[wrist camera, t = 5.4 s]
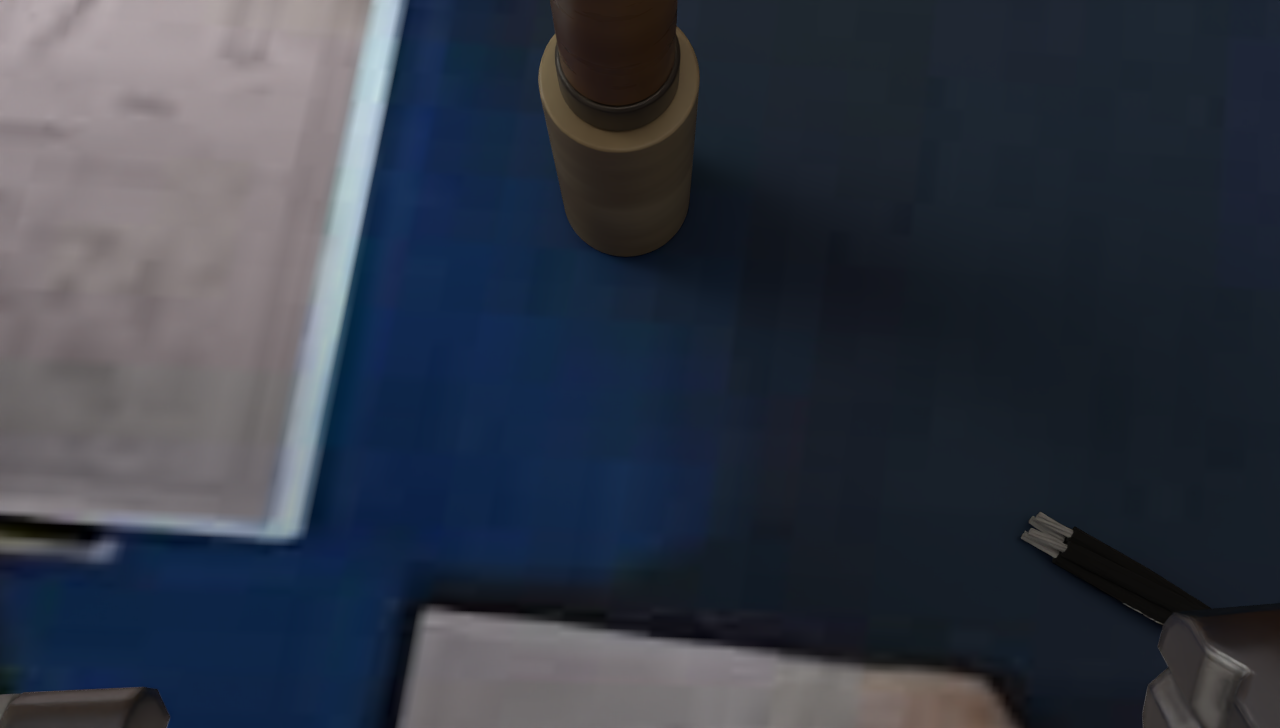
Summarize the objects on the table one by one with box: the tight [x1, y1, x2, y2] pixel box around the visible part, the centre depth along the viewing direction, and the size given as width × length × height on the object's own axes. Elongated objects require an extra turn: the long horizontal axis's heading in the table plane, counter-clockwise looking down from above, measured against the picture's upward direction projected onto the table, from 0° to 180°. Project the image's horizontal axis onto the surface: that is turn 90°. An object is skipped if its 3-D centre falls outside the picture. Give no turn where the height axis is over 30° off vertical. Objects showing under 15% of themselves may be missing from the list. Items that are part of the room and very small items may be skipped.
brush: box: [538, 0, 700, 257], centre depth 22 cm, size 3×3×17 cm
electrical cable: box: [1021, 512, 1211, 625], centre depth 28 cm, size 12×1×1 cm, turn 59°
